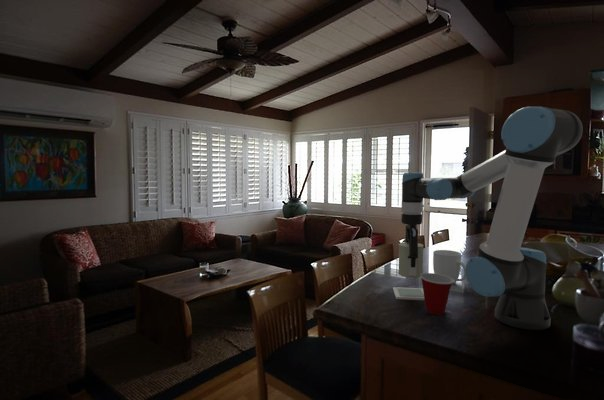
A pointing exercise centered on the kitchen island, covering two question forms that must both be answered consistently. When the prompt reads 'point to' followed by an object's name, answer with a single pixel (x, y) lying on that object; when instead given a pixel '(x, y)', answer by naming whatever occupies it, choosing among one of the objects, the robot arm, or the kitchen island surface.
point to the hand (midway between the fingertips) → (410, 271)
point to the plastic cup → (436, 292)
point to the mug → (448, 264)
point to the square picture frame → (409, 293)
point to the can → (404, 260)
